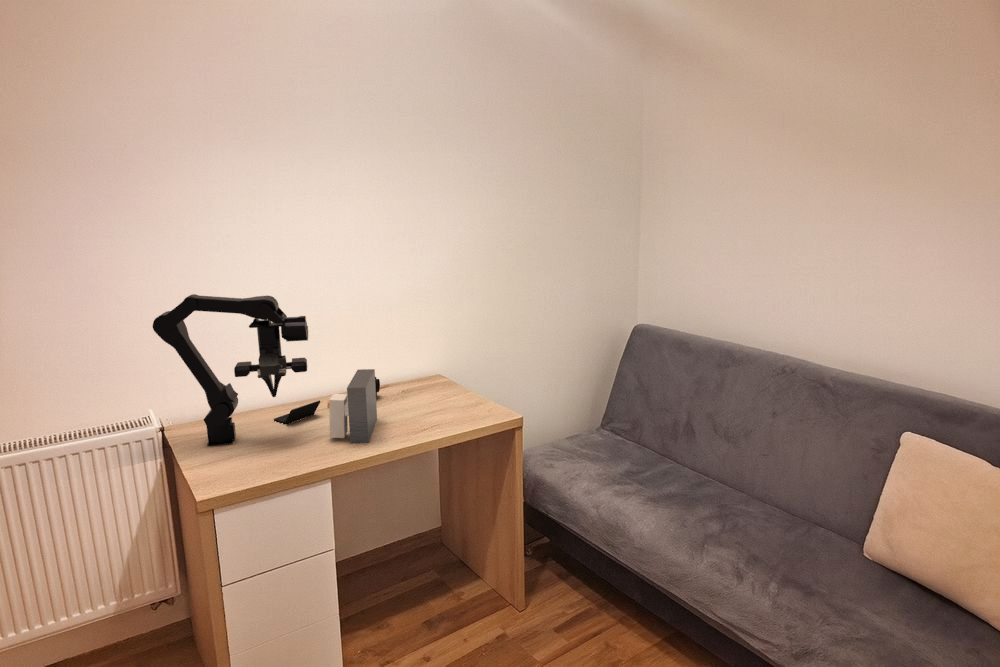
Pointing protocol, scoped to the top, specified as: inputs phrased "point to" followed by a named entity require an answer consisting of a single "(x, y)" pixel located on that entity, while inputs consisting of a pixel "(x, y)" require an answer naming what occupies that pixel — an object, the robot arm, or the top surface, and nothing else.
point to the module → (338, 416)
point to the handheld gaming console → (298, 413)
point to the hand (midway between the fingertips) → (274, 396)
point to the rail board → (361, 406)
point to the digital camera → (377, 385)
